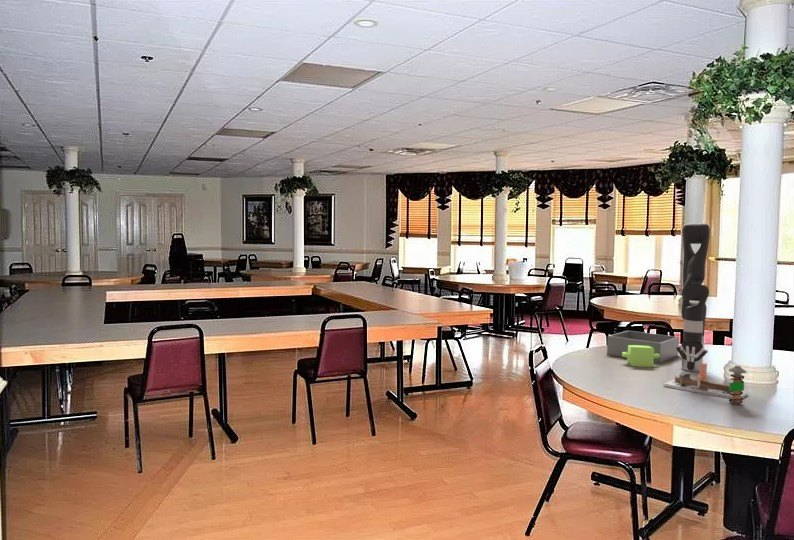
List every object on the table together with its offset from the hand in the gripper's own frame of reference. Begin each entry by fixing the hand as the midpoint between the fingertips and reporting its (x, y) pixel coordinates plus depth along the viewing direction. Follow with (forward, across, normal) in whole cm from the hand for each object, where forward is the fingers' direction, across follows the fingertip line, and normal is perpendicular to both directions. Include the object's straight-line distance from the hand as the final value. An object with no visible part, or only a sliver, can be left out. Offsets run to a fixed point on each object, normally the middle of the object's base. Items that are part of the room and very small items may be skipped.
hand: (690, 369), depth 276 cm
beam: (+6, -7, +2) cm, 9 cm away
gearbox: (+7, +32, -29) cm, 44 cm away
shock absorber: (+8, -22, +16) cm, 28 cm away
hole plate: (+7, -7, +3) cm, 11 cm away
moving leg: (+6, -5, +2) cm, 8 cm away
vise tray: (+7, +41, -55) cm, 69 cm away
